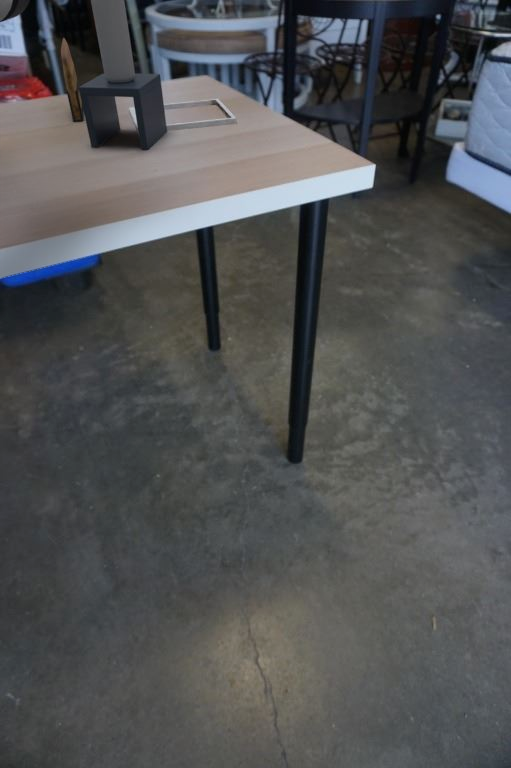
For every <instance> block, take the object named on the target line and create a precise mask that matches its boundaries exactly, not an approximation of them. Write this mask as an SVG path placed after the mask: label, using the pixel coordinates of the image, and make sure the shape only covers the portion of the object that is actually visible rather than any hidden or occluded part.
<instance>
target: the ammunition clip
mask: <svg viewBox="0 0 511 768" xmlns="http://www.w3.org/2000/svg"><path fill="white" fill-rule="evenodd" d="M60 58H61V63H62V69H63V78H64V82H65V87H66V95H67V100H68V105H69V109H70V114H71V117H72V121H73V123H75V122H84V119H85V115H84V110H83V106H82V101H81V95H80V92H79V87H80V83H79V82H80V81H79V78H78V77H77V73H76V67H75V63H74V61H73V58H72V55H71V51H70V47H69V44H68V41H67V40H66V38H65V37H62V42H61V47H60Z"/></svg>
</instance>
